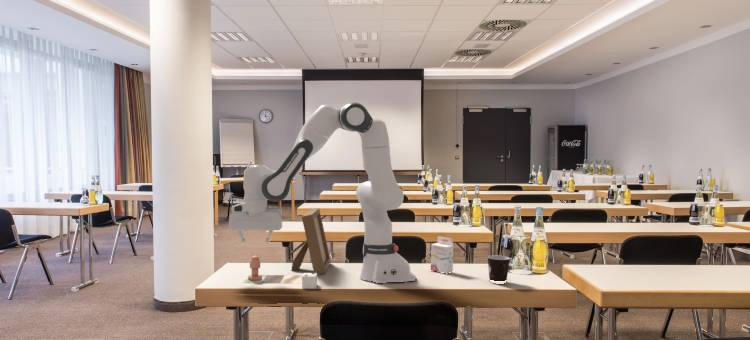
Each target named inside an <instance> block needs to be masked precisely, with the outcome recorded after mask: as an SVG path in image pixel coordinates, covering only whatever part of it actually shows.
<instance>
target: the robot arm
mask: <svg viewBox="0 0 750 340" xmlns="http://www.w3.org/2000/svg"><path fill="white" fill-rule="evenodd" d="M338 129H342V130H344V131H348V132H356V133H358V135H359V136H360V139H361V153H362V154H361V156H362V166H363V169H364V170H365V172H366V173H367V176H368V179H369V180H367V181H364V182H361V183H360V184H358V186H357V188H356V191H355V195H356V199H357V201H358V203H359V204H360V207H361V211H362V217H363V223H364V241H363V244H362V256H363V261H362V268H361V272H360V275H359V278H360V279H361V280H363V281H366V280H367V281H366V282H371V281H373V282H372V283H374V282H376V283H375V284H377V283H383V284H387V283H386V282H401V281H414V280H415V279H416V280H417V278H416V274H415V273H413V272H412V271H411V266H410V264H409V261H407V260H406V259H405V258H404V257H403V256H402V255H400V254H399V253H398V251H399V248H400V247H399V246H398V245H397V244H395V243H393V224H392V221H391V219H390V217H389V215H388V211H392V210H397V209H399V208H400V207H401V206H402V204H403V202H404V191H403V189H402V188H401V187H400V185H399V184H398V182H397V180H396V177H395V174H394V171H393V166H392V161H391V160H392V159H391V148H390V137H389V133H388V128H387V125H386V122H384V121H383V120H382V119H378V118H373V117H372V116H371V114H370V113H369V111H368V109H367V108H366V107H365V106H364V105H363V104H362V103H359V102H349V103H347V104H345V105H343V106H342V107H340V108H335V107H334V106H331V104H330V105H329V104H322V105H320V106H319V107H318V108H317V109H316V110H315V111H313V113H312V114H311V115H310V116H309V118H308V119H307V120H306V122H305V123H304V124H303V125H302V127H301V129H300V131H299V133H298V135H297V137H296V139H295V142H294V145H293V147H292V149H291V151H290V153H289V154H288V156H287V157H286V159H284V161H283V162H282V164H281V165H280V166H279V168H278V169H277V170H273V169H272V168H269V167H267V166H266V165H265V164H263V163H260V164H254V165H249V166H248V167H246V168H245V170H244V173H243V186H242V187H243V190H244V194H243V195H244V196H243V202H239V203H238V204H234V205H232V206H231V209H230V210H231V213H230V214H229V217H228V229H229V230H230V231H232V232H235V231H237V233H238V235H239V237H240V242H241V243H246V241H247V237H246V236H244V234H243V232H244V231H268V236H266V237H265V242H266V243H270V242H271V237H272V235H273V234H274V231H280V230H282V228H283V221H282V219H283V218H282V217H283V215H284V214H283V209H282V208H281V207H279V206H277V205H276V206H272V205H269V206H268V200H269V201H270V202H272V203H273V202H274V203H276V202H281V201H283V200H285V198H287V196H288V195H289V192H290V191H291V189H292V180H293V179H294V177H295V176H296V175H297V173H298V172H299V171H300V169H301V167H302V166H303V165H304V164H305V163H306V161H308V160H309V158H311V157H312V156H314V155H315V154H316V153H318V152H319V151H320V150H321V149H322V148H323V147H324V146H325V144H326V143H327V142H328V141H329V139H330V138H331V136H332V135H333V134H334V132H336V131H337V130H338ZM416 280H415V281H416ZM415 281H414V282H415Z"/></svg>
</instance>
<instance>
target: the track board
mask: <svg viewBox="0 0 750 340" xmlns="http://www.w3.org/2000/svg"><path fill="white" fill-rule="evenodd" d="M249 275H250V274H248V275H247V276H246V277H245V279H244V280H243V281H242V284H300V283H301V281H302V276H303V274H301V275H300V274H299V275H298V274H297V275H294V274H291V275H289V274H285V275H284V274H282V275H281V274H261V275H262V279H261V280H257V281H251V280H248V276H249Z"/></svg>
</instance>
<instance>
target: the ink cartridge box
mask: <svg viewBox="0 0 750 340" xmlns="http://www.w3.org/2000/svg"><path fill="white" fill-rule="evenodd" d="M436 240H437V242H436V243H431V246H430V247H431V249H430V250H431V251H430V253H431V254H430V271H431V270H433V271H432V272H434V271H438V272H444V273H449V272H452V271H453V272H454V239H453V238H452V237H451V238H450V237H446V236H440V235H438V236H437V239H436ZM445 240H446V241H445ZM438 272H437V273H438ZM453 272H452V273H453ZM449 274H450V273H449Z"/></svg>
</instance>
